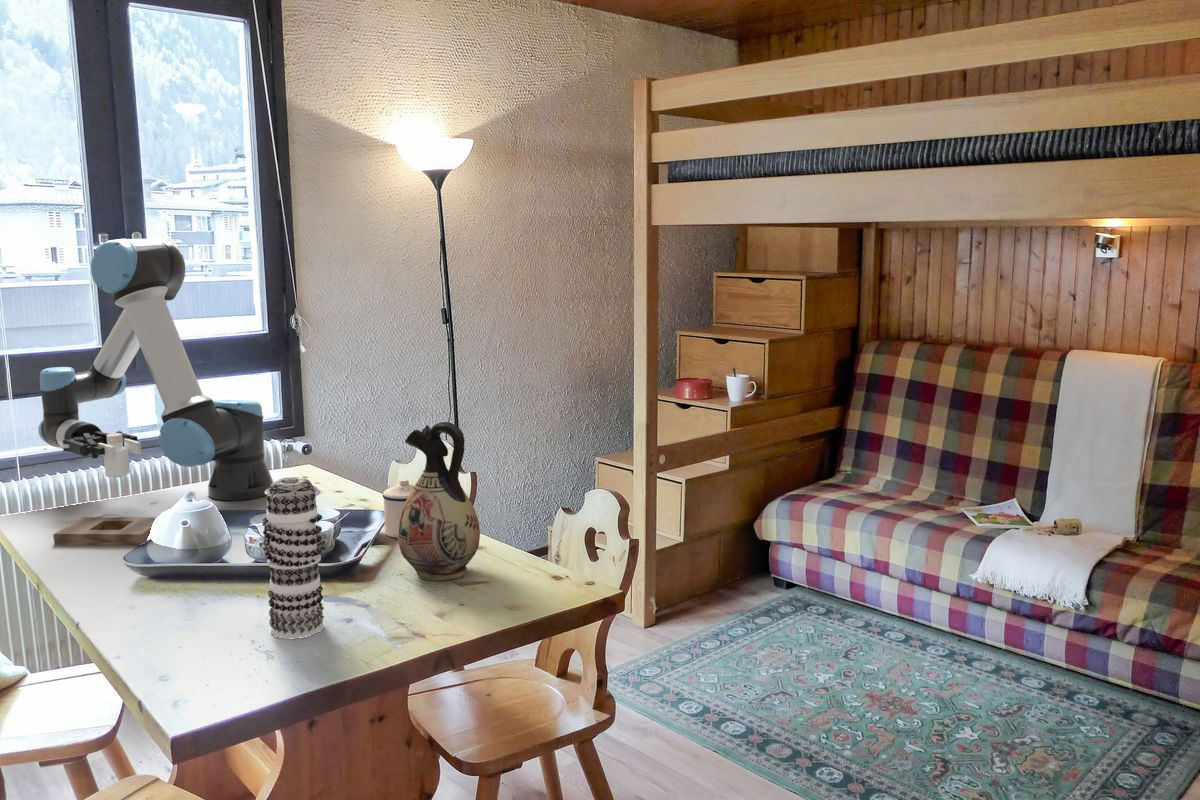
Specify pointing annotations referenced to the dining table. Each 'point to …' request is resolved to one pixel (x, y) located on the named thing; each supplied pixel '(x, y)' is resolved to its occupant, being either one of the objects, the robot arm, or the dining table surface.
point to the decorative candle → (293, 558)
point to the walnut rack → (105, 531)
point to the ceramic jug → (438, 510)
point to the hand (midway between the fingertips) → (126, 450)
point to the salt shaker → (117, 457)
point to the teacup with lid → (395, 505)
